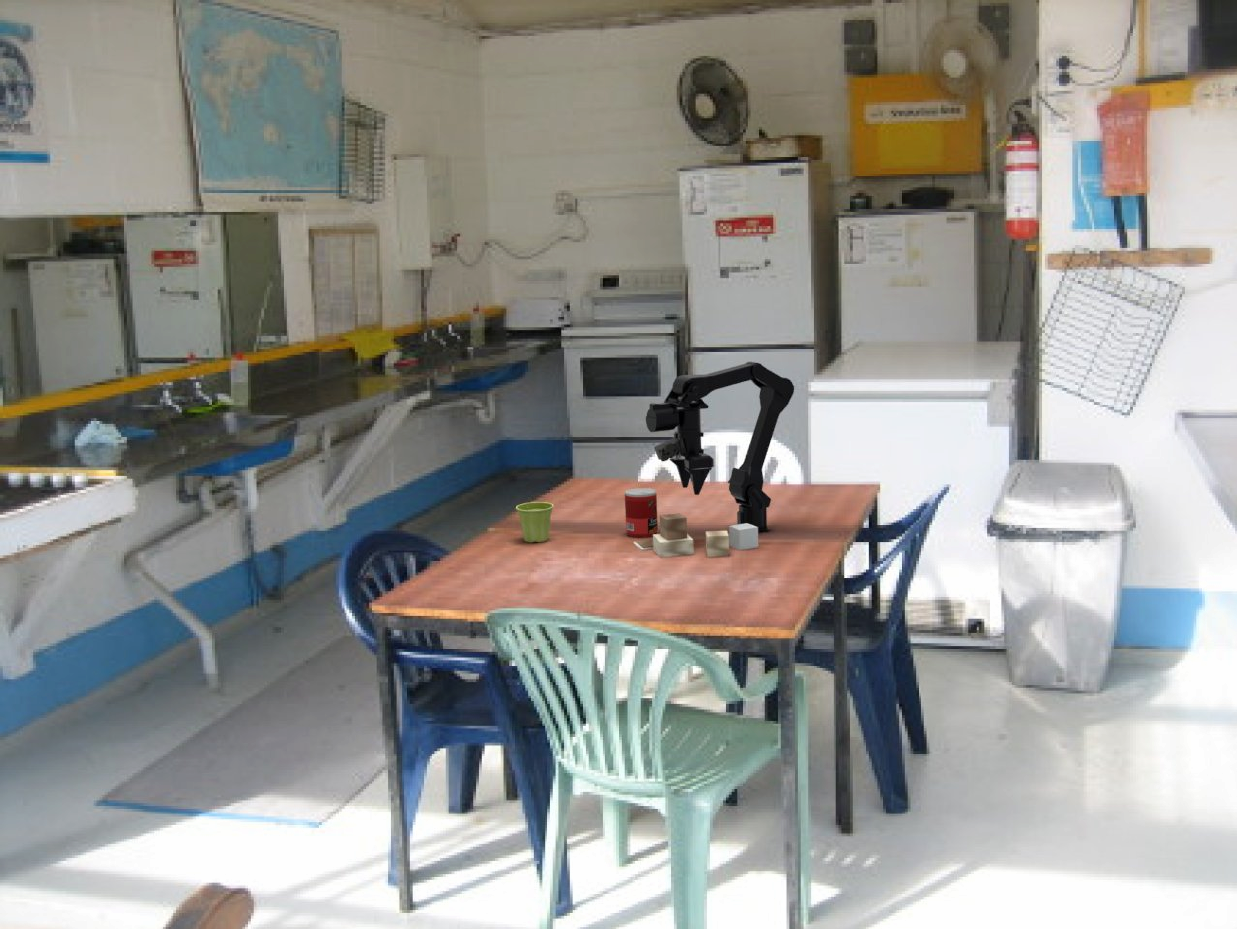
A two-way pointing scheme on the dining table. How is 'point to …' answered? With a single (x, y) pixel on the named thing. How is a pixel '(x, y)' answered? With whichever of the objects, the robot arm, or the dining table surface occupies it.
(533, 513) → the plant pot
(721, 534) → the maple block
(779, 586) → the dining table surface
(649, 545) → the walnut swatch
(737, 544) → the grey block
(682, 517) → the walnut block
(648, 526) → the canned food
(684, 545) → the cream square block
